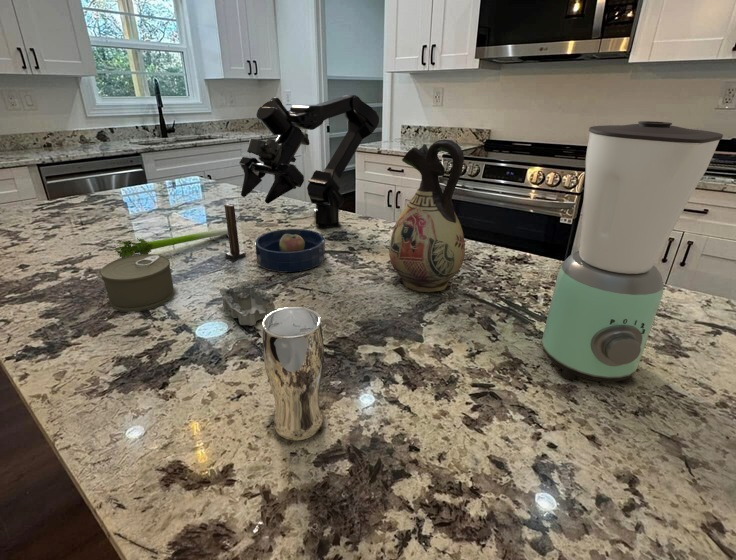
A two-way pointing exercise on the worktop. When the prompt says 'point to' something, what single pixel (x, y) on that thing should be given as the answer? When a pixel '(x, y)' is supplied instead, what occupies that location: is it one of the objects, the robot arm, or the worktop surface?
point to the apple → (291, 243)
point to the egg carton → (247, 303)
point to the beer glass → (294, 369)
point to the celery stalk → (164, 242)
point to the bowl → (290, 261)
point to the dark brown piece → (232, 233)
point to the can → (138, 282)
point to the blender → (622, 245)
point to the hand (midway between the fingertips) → (254, 199)
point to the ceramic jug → (429, 223)
